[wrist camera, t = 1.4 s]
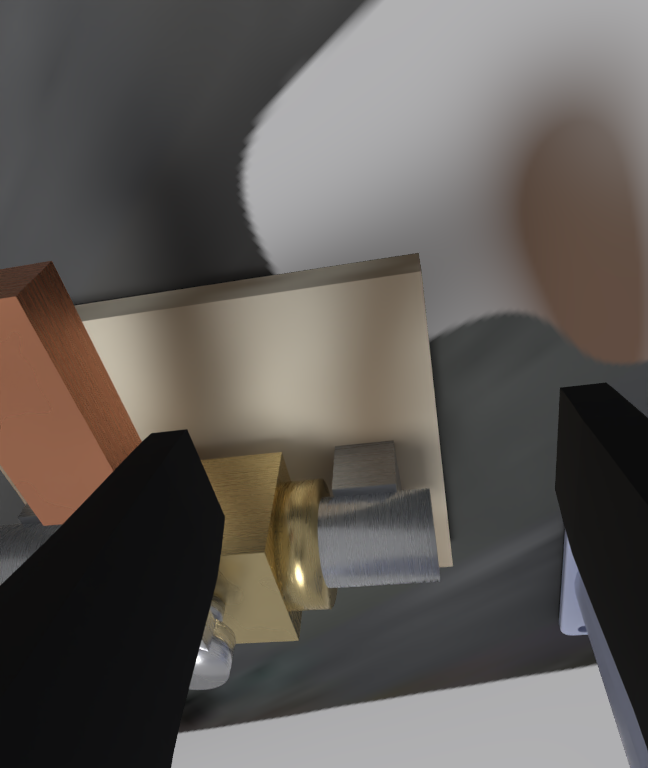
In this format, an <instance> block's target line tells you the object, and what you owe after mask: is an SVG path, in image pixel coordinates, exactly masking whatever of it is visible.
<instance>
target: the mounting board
mask: <svg viewBox="0 0 648 768" xmlns="http://www.w3.org/2000/svg"><path fill="white" fill-rule="evenodd" d="M74 307H75V309H76V311H77V313H78V315H79V317H80V319H81V321H82V323H83V325H84V327H85V329H86V331H87V333H88V335H89V337H90V339H91V341H92V343H93V345H94V347H95V349H96V351H97V353H98V355H99V357H100V359H101V361H102V363H103V365H104V367H105V369H106V371H107V373H108V375H109V377H110V379H111V381H112V383H113V385H114V387H115V389H116V391H117V393H118V395H119V397H120V399H121V401H122V403H123V405H124V407H125V409H126V411H127V413H128V415H129V417H130V419H131V421H132V423H133V425H134V427H135V429H136V431H137V433H138V435H139V437H140V439H141V441H143V440H144V439H145V438H147V437H148V436H149V435H150V434H151V433H158V432H167V431H176V430H185V429H187V430H188V432H189V434H190V437H191V439H192V441H193V444H194V446H195V448H196V451H197V453H198V455H199V458H200V460H207V459H217V458H227V457H237V456H247V455H256V454H266V453H276V452H282V454H283V457H284V460H285V463H286V467H287V470H288V473H289V476H290V479H291V481H299V480H310V479H320V478H321V479H323V480H324V481H325V482H326V484H327V486H328V489H329V492H330V496H333V492H332V480H333V466H334V452H335V446H341V445H351V444H361V443H371V442H381V441H391V440H394V446H395V452H396V458H397V464H398V470H399V476H400V482H401V488H402V490H411V489H423V488H430V495H431V503H432V511H433V519H434V528H435V536H436V545H437V554H438V562H439V567H450V566H453V564H452V554H451V545H450V535H449V526H448V517H447V507H446V498H445V488H444V479H443V470H442V460H441V451H440V441H439V432H438V422H437V413H436V404H435V394H434V385H433V375H432V366H431V357H430V347H429V338H428V328H427V319H426V310H425V300H424V291H423V282H422V272H421V265H420V259H419V253H415V254H408V255H402V256H395V257H389V258H382V259H376V260H369V261H363V262H356V263H350V264H343V265H336V266H330V267H324V268H317V269H310V270H304V271H298V272H291V273H284V274H278V275H271V276H264V277H258V278H251V279H245V280H238V281H232V282H225V283H219V284H212V285H205V286H199V287H192V288H186V289H179V290H173V291H166V292H160V293H153V294H147V295H140V296H133V297H127V298H120V299H114V300H107V301H101V302H94V303H88V304H81V305H75V306H74ZM0 469H1V471H2V472H3V474H4V475H5V476H6V478H7V479H8V481H9V482H10V483H11V485H12V486H13V488H14V489H15V491H16V492H17V493H18V495H19V496H20V498H21V499H22V500H23V502H24V503H25V505H26V504H27V502H26V500H25V499H24V498H23V496H22V495H21V493H20V492H19V491H18V489H17V488H16V486H15V485H14V484H13V482H12V481H11V479H10V478H9V476H8V475H7V474H6V472H5V471H4V469H3V468H2V467H1V465H0Z"/></svg>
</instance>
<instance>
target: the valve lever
mask: <svg viewBox="0 0 648 768" xmlns="http://www.w3.org/2000/svg"><path fill="white" fill-rule="evenodd" d="M141 442H142V441H141V439H140V437H139V435H138V433H137V431H136V429H135V427H134V425H133V423H132V421H131V419H130V417H129V415H128V413H127V411H126V409H125V407H124V405H123V403H122V401H121V399H120V397H119V395H118V393H117V391H116V389H115V387H114V385H113V383H112V381H111V379H110V377H109V375H108V373H107V371H106V369H105V367H104V365H103V363H102V361H101V359H100V357H99V355H98V353H97V351H96V349H95V347H94V345H93V343H92V341H91V339H90V337H89V335H88V333H87V331H86V329H85V327H84V325H83V323H82V321H81V319H80V317H79V315H78V313H77V311H76V309H75V307H74V305H73V303H72V300H71V298H70V296H69V294H68V292H67V290H66V288H65V286H64V284H63V282H62V280H61V278H60V276H59V274H58V272H57V270H56V268H55V266H54V264H53V262H52V261H48V262H42V263H36V264H30V265H24V266H18V267H12V268H6V269H0V465H1V467H2V468H3V469H4V471H5V472H6V474H7V475H8V476H9V478H10V479H11V481H12V482H13V484H14V485H15V486H16V488H17V489H18V491H19V492H20V493H21V495H22V496H23V498H24V499H25V500H26V502H27V503H28V505H29V506H30V508H31V509H32V510H33V512H34V513H35V515H36V516H37V517H38V519H39V520H40V522H41V523H42V525H43V526H48V525H60V524H63V523H64V522H65V521H66V520H67V519H68V518H69V517H70V516H71V515H72V514H73V513H74V512H75V511H76V510H77V509H78V508H79V507H80V506H81V505H82V504H83V503H84V502H85V500H86V499H87V498H88V497H89V496H90V495H91V494H92V493H93V492H94V491H95V490H96V489H97V488H98V487H99V486H100V485H101V484H102V483H103V482H104V481H105V479H106V478H107V477H108V476H109V475H110V474H111V473H112V472H113V471H114V470H115V469H116V468H117V467H118V466H119V465H120V464H121V463H122V462H123V461H124V459H125V458H126V457H127V456H128V455H129V454H130V453H131V452H132V451H133V450H134V449H135V448H136V447H137V446H138V445H139V444H140V443H141ZM235 643H236V637H235V634H234V632H233V631H232V630H231V628H230V627H228V626H227V625H226V624H224V623H223V622H221V621H219V620H217V619H215V618H214V616H213V614H212V612H211V610H209V614H208V618H207V622H206V626H205V629H204V633H203V637H202V641H201V645H200V648H199V652H198V656H197V660H196V664H195V667H194V671H193V675H192V679H191V683H190V687H189V689H193V690H205V689H212V688H216V687H219V686H221V685H222V684H224V683H225V682H226V681H227V680H228V678H229V674H230V669H231V663H232V658H233V653H234V648H235Z"/></svg>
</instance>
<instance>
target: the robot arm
mask: <svg viewBox="0 0 648 768" xmlns="http://www.w3.org/2000/svg"><path fill="white" fill-rule="evenodd" d="M555 491H556V495H557V499H558V503H559V507H560V510H561V514H562V518H563V522H564V526H565V539H564V553H563V568H562V583H561V598H560V613H559V626H560V629H561V632H562V633H564V634H566V635H588V636H589V639H590V642H591V645H592V649H593V652H594V655H595V658H596V661H597V664H598V667H599V671H600V674H601V677H602V680H603V683H604V686H605V689H606V692H607V696H608V699H609V702H610V705H611V708H612V712H613V715H614V718H615V721H616V724H617V727H618V730H619V734H620V737H621V740H622V743H623V746H624V750H625V753H626V756H627V759H628V762H629V765H630V768H648V418H647V417H646V416H645V415H644V414H643V413H642V412H640V411H639V410H638V409H637V408H636V407H635V406H633V405H632V404H631V403H630V402H629V401H628V400H626V399H625V398H624V397H623V396H622V395H621V394H619V393H618V392H617V391H616V390H615V389H613V388H612V387H611V386H610V385H608V384H607V383H599V384H590V385H581V386H572V387H563V388H560V401H559V421H558V441H557V461H556V481H555ZM224 523H225V515H224V513H223V511H222V508H221V506H220V504H219V502H218V499H217V497H216V495H215V492H214V490H213V488H212V485H211V483H210V481H209V478H208V476H207V474H206V471H205V469H204V467H203V465H202V462H201V460H200V458H199V455H198V453H197V451H196V448H195V446H194V444H193V441H192V439H191V437H190V434H189V432H188V430H187V429H185V430H176V431H167V432H158V433H151V434H150V435H149V436H148V437H147V438H145V439H144V440H143V441H142V442H141V443H140V444H139V445H138V446H137V447H136V448H135V449H134V450H133V451H132V452H131V453H130V454H129V455H128V456H127V457H126V458H125V459H124V461H123V462H122V463H121V464H120V465H119V466H118V467H117V468H116V469H115V470H114V471H113V472H112V473H111V474H110V475H109V476H108V477H107V478H106V479H105V481H104V482H103V483H102V484H101V485H100V486H99V487H98V488H97V489H96V490H95V491H94V492H93V493H92V494H91V495H90V496H89V497H88V498H87V499H86V500H85V502H84V503H83V504H82V505H81V506H80V507H79V508H78V509H77V510H76V511H75V512H74V513H73V514H72V515H71V516H70V517H69V518H68V519H67V520H66V521H65V522H64V523H63V524H62V525H61V526H60V527H59V529H58V530H57V531H56V532H55V533H54V534H53V535H52V536H51V537H50V538H49V539H48V540H47V541H46V542H45V543H44V544H43V545H42V546H41V547H40V548H38V549H37V550H36V551H35V552H34V553H33V554H32V555H31V556H30V557H29V558H28V559H27V560H26V561H25V562H24V563H23V564H22V565H21V566H20V567H19V568H18V569H17V570H16V571H15V572H14V573H13V574H12V575H11V576H9V577H8V578H7V579H6V580H5V581H4V582H3V583H2V584H1V585H0V768H171V764H172V758H173V753H174V748H175V743H176V739H177V735H178V730H179V726H180V721H181V717H182V713H183V709H184V706H185V702H186V698H187V694H188V690H189V687H190V683H191V679H192V675H193V671H194V667H195V664H196V660H197V656H198V652H199V648H200V645H201V641H202V637H203V633H204V629H205V626H206V622H207V618H208V614H209V610H210V606H211V602H212V598H213V594H214V590H215V586H216V582H217V578H218V571H219V564H220V557H221V550H222V541H223V532H224Z"/></svg>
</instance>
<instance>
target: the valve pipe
mask: <svg viewBox="0 0 648 768" xmlns="http://www.w3.org/2000/svg"><path fill="white" fill-rule="evenodd" d="M201 462H202V465H203V467H204V469H205V471H206V474H207V476H208V478H209V481H210V483H211V485H212V488H213V490H214V492H215V495H216V497H217V499H218V502H219V504H220V506H221V508H222V511H223V513H224V515H225V523H224V532H223V541H222V550H221V557H220V564H219V571H218V578H217V582H216V586H215V590H214V594H213V598H212V602H211V606H210V610H211V612H212V614H213V616H214V618H215V619H217V620H219V621H221V622H223V623H224V624H226V625H227V626H228V627H230V628H231V630H232V631H233V632H234V634H235V637H236V643H235V644H237V643H259V642H280V641H299V636H300V626H301V616H302V610H320V609H332V608H333V606H334V604H335V600H336V595H337V588H343V587H359V586H375V585H391V584H408V583H424V582H440V572H439V562H438V554H437V545H436V536H435V528H434V519H433V511H432V503H431V495H430V488H423V489H411V490H402V488H401V482H400V476H399V470H398V464H397V458H396V452H395V446H394V440H391V441H381V442H371V443H361V444H351V445H341V446H335V452H334V466H333V480H332V492H333V496H330V492H329V489H328V486H327V484H326V482H325V481H324V480H323V479H321V478H320V479H310V480H299V481H291V479H290V476H289V473H288V470H287V467H286V463H285V460H284V457H283V454H282V452H276V453H266V454H256V455H247V456H237V457H227V458H217V459H207V460H201ZM18 519H19V520H20V521H21V523H22V524H11V525H1V526H0V585H1V584H2V583H3V582H4V581H5V580H6V579H7V578H8V577H9V576H11V575H12V574H13V573H14V572H15V571H16V570H17V569H18V568H19V567H20V566H21V565H22V564H23V563H24V562H25V561H26V560H27V559H28V558H29V557H30V556H31V555H32V554H33V553H34V552H35V551H36V550H37V549H38V548H40V547H41V546H42V545H43V544H44V543H45V542H46V541H47V540H48V539H49V538H50V537H51V536H52V535H53V534H54V533H55V532H56V531H57V530H58V529H59V527H60V526H61V525H62V524H60V525H48V526H43V525H42V523H41V522H40V520H39V519H38V517H37V516H36V515H35V513H34V512H33V510H32V509H31V508H30V506H29V505H28V503H27V504H26V505H25V507H24V508H23V510H22V512H21V513H20V515H19V516H18Z"/></svg>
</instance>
